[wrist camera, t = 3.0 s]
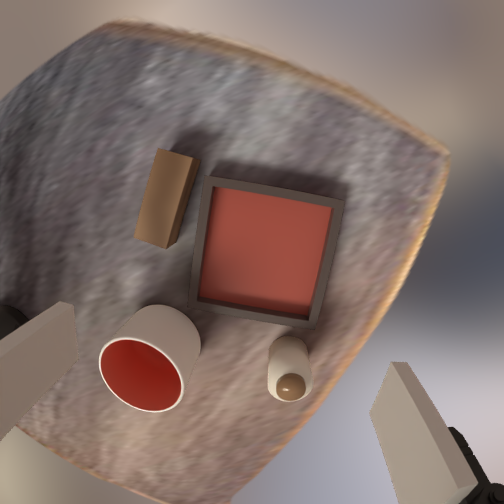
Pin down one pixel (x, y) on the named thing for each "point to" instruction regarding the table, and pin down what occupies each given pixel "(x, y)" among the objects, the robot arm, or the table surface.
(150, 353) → the cup
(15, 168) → the table surface
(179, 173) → the box
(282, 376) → the ceramic jar
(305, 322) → the tray
